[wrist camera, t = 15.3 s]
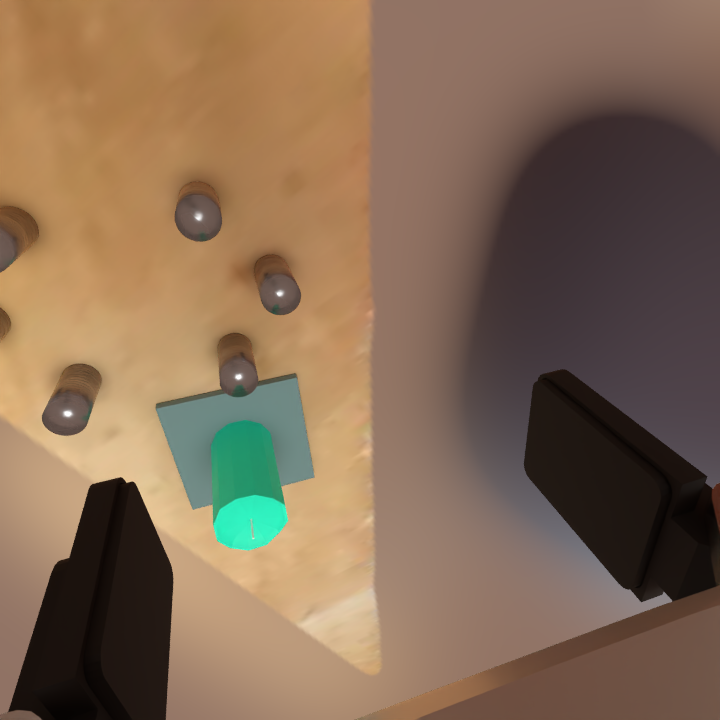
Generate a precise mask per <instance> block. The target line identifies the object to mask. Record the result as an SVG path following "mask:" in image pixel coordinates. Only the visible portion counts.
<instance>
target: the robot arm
mask: <svg viewBox="0 0 720 720" xmlns="http://www.w3.org/2000/svg"><path fill="white" fill-rule="evenodd" d="M524 468H525V471H526V474H527V476H528V477H529V479H530V480H531V481H532V482H533V483H534V484H535V486H536V487H537V488H538V489H539V490H540V491H541V493H542V494H543V495H544V496H545V497H546V498H547V500H548V501H549V502H550V503H551V504H552V506H553V507H554V508H555V509H556V510H557V511H558V513H559V514H560V515H561V516H562V517H563V518H564V520H565V521H566V522H567V523H568V524H569V525H570V527H571V528H572V529H573V530H574V531H575V532H576V534H577V535H578V536H579V537H580V538H581V540H583V542H584V543H585V544H586V546H587V547H588V548H589V549H590V550H591V551H592V552H593V554H594V555H595V556H596V557H597V558H598V559H599V561H600V562H601V563H602V564H603V565H604V567H605V568H606V569H607V570H608V571H609V573H610V574H611V575H612V576H613V577H614V578H615V580H616V581H617V582H618V583H619V584H620V585H621V586H622V587H623V588H625V589H630V590H631V591H632V592H633V593H634V594H635V595H636V597H637V598H638V599H639V600H640V601H641V602H643V601H646V600H649V599H651V598H654V597H657V596H660V595H662V594H663V592H665V593H666V594H667V595H668V596H669V597H670V598H671V599H672V602H671V603H667V604H664V605H662V606H659V607H656V608H653V609H651V610H648V611H645V612H642V613H640V614H637V615H634V616H632V617H629V618H626V619H623V620H621V621H618V622H615V623H612V624H610V625H607V626H604V627H602V628H599V629H596V630H593V631H591V632H588V633H585V634H583V635H580V636H577V637H574V638H572V639H569V640H566V641H563V642H561V643H558V644H555V645H553V646H550V647H547V648H545V649H542V650H539V651H536V652H534V653H531V654H528V655H526V656H523V657H520V658H518V659H515V660H512V661H510V662H507V663H505V664H502V665H499V666H496V667H494V668H491V669H488V670H486V671H483V672H480V673H478V674H475V675H472V676H470V677H467V678H464V679H462V680H459V681H456V682H454V683H451V684H448V685H446V686H443V687H441V688H438V689H435V690H433V691H430V692H427V693H425V694H422V695H419V696H417V697H414V698H411V699H409V700H406V701H403V702H400V703H398V704H395V705H393V706H390V707H388V708H385V709H382V710H379V711H377V712H374V713H372V714H369V715H367V716H364V717H361V718H358V719H356V720H720V483H718V484H716V485H715V487H714V488H713V489H712V488H711V487H710V486H708V485H707V484H706V483H705V482H706V479H707V476H706V475H705V474H703V473H702V472H701V471H699V470H698V469H696V468H695V467H694V466H693V465H691V464H690V463H689V462H687V461H686V460H685V459H683V458H682V457H681V456H679V455H678V454H677V453H676V452H674V451H673V450H672V449H670V448H669V447H668V446H666V445H665V444H664V443H662V442H661V441H660V440H658V439H657V438H655V437H654V436H653V435H652V434H650V433H649V432H648V431H647V430H645V429H644V428H643V427H641V426H640V425H639V424H637V423H636V422H635V421H633V420H632V419H631V418H629V417H628V416H627V415H625V414H624V413H623V412H622V411H620V410H619V409H618V408H616V407H615V406H614V405H612V404H611V403H610V402H608V401H607V400H605V399H604V398H603V397H602V396H600V395H599V394H598V393H596V392H595V391H594V390H593V389H591V388H590V387H589V386H587V385H586V384H585V383H583V382H582V381H580V380H579V379H578V378H577V377H575V376H574V375H573V374H571V373H570V372H569V371H567V370H563V369H562V370H557V371H553V372H549V373H545V374H542V375H540V377H539V378H538V381H537V382H535V383H534V385H533V391H532V400H531V408H530V417H529V426H528V433H527V442H526V451H525V459H524ZM172 595H173V572H172V567H171V564H170V561H169V559H168V557H167V554H166V552H165V550H164V548H163V545H162V543H161V541H160V538H159V536H158V534H157V531H156V529H155V527H154V525H153V522H152V520H151V518H150V515H149V513H148V511H147V509H146V506H145V504H144V502H143V499H142V497H141V495H140V492H139V490H138V488H137V486H136V484H135V483H134V482H129V483H126V482H125V480H124V479H123V478H121V477H120V478H115V479H111V480H107V481H103V482H99V483H95V484H92V485H91V486H90V488H89V490H88V494H87V497H86V501H85V504H84V508H83V511H82V515H81V519H80V522H79V526H78V530H77V533H76V536H75V540H74V543H73V547H72V550H71V554H70V558H68V559H64V560H61V561H59V562H57V564H56V565H55V566H54V568H53V571H52V573H51V576H50V579H49V583H48V586H47V589H46V592H45V596H44V599H43V602H42V605H41V608H40V612H39V615H38V618H37V621H36V624H35V628H34V631H33V634H32V637H31V640H30V644H29V647H28V650H27V653H26V657H25V660H24V663H23V666H22V669H21V673H20V676H19V679H18V682H17V686H16V689H15V692H14V695H13V698H12V702H11V705H10V708H9V711H8V712H7V713H3V714H1V715H0V720H166V704H167V683H168V668H169V650H170V632H171V613H172Z"/></svg>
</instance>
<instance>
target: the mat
mask: <svg viewBox="0 0 720 720" xmlns="http://www.w3.org/2000/svg"><path fill="white" fill-rule="evenodd" d="M156 411H157V414H158V416H159V419H160V422H161V425H162V427H163V430H164V433H165V436H166V438H167V441H168V444H169V446H170V449H171V452H172V455H173V457H174V460H175V463H176V465H177V468H178V471H179V474H180V476H181V479H182V482H183V485H184V487H185V490H186V493H187V495H188V498H189V501H190V504H191V506H192V509H197V508H201V507H205V506H208V505H212V504H213V498H212V463H211V444H212V442H213V439H214V437H215V435H216V433H217V432H218V431H219V430H221V429H222V428H223V427H225V426H226V425H227V424H229V423H233V422H238V421H242V420H248V421H252V422H257V423H260V424H262V425H263V426H264V427H265V428H266V429H267V430H268V431H269V432H270V434H271V439H272V444H273V449H274V454H275V458H276V463H277V468H278V473H279V478H280V483H281V486H284V485H288V484H291V483H295V482H299V481H303V480H307V479H310V478H314V472H313V466H312V460H311V455H310V449H309V444H308V438H307V432H306V427H305V421H304V415H303V410H302V404H301V398H300V393H299V387H298V381H297V377H296V374H291V375H287V376H282V377H278V378H273V379H268V380H264V381H259V382H258V385H257V387H256V389H255V390H254V391H253V392H252V393H251V394H249V395H247V396H244V397H232V396H229V395H227V394H226V393H225V392H224V391H223V390H218V391H214V392H209V393H204V394H200V395H195V396H191V397H186V398H182V399H177V400H172V401H168V402H163V403H159V404H156Z"/></svg>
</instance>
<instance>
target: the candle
mask: <svg viewBox="0 0 720 720" xmlns="http://www.w3.org/2000/svg"><path fill="white" fill-rule="evenodd" d="M211 463H212V498H213V526H214V530H215V534H216V538H217V541H218V542H220V543H222V544H224V545H225V546H227V547H229V548H233V549H241V550H251V549H255V548H258V547H261V546H264V545H267V544H268V543H269V542H270V541H271V540H272V539H273V538H274V537H275V536H276V535H277V534H278V533H279V532H280V531H281V530H282V528H283V527H284V526H285V524H286V523H287V522H288V518H287V513H286V508H285V503H284V498H283V493H282V488H281V483H280V478H279V473H278V468H277V463H276V458H275V454H274V449H273V444H272V439H271V434H270V432H269V431H268V430H267V429H266V428H265V427H264V426H263V425H262V424H260V423H257V422H252V421H248V420H242V421H238V422H233V423H229V424H227V425H226V426H225V427H223V428H222V429H221V430H219V431H218V432H217V433H216V435H215V437H214V439H213V442H212V444H211Z"/></svg>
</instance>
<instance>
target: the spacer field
mask: <svg viewBox="0 0 720 720" xmlns="http://www.w3.org/2000/svg"><path fill="white" fill-rule="evenodd" d="M175 222H176V225H177V227H178V229H179V231H180V232H181V233H182V234H183V235H184V236H185V237H187V238H189V239H191V240H194V241H207V240H210V239H212V238H213V237H215V236H216V235H217V234H218V232H219V231H220V228H221V225H222V217H221V211H220V205H219V199H218V196H217V194H216V192H215V191H214V189H213V188H212V187H210V186H209V185H207V184H205V183H203V182H191V183H188V184H186V185H185V186H184V187H183V188H182V189H181V191H180V193H179V197H178V201H177V206H176V211H175ZM38 233H39V232H38V226H37V224H36V222H35V220H34V219H33V218H32V217H31V216H30V215H29V214H28V213H26V212H25V211H23V210H21V209H19V208H15V207H2V208H0V272H2V271H4V270H5V269H6V268H7V267H9V266H10V265H11V264H12V263H13V262H14V261H15V260H16V259H17V258H18V257H20V256H21V255H22V254H23V253H24V252H25V251H26V250H27V249H28V248H29V247H31V246H32V245H33V244H34V243H35V242H36V240H37V238H38ZM254 277H255V280H256V284H257V287H258V290H259V294H260V297H261V301H262V304H263V306H264V307H265V308H266V310H268V311H269V312H271V313H273V314H276V315H285V314H288V313H290V312H292V311H293V310H295V309H296V307H297V306H298V305H299V303H300V299H301V292H300V289H299V287H298V285H297V283H296V281H295V279H294V277H293V275H292V273H291V271H290V269H289V267H288V265H287V263H286V262H285V261H284V259H282V258H281V257H279V256H276V255H266V256H263V257H262V258H260V259H259V260H258V261H257V262H256V264H255V267H254ZM10 326H11V322H10V319H9V317H8V315H7V314H6V313H5V312H4V311H3V310H2V309H1V308H0V341H1V340H2V339H3V338H4V336H5V335H6V334H7V333H8V331H9V330H10ZM218 361H219V376H220V386H221V388H222V390H223V391H224V392H225V393H226V394H227V395H229V396H232V397H244V396H247V395H249V394H251V393H252V392H253V391H254V390H255V389H256V387H257V385H258V376H257V371H256V366H255V361H254V356H253V351H252V346H251V343H250V341H249V339H248V338H247V337H245V336H244V335H242V334H237V333H233V334H228V335H226V336H224V337H223V338H222V339H221V340H220V342H219V344H218ZM100 385H101V376H100V374H99V372H98V371H97V370H96V369H94V368H93V367H91V366H89V365H85V364H75V365H71V366H69V367H68V368H66V369H65V370H64V372H63V373H62V376H61V378H60V380H59V382H58V384H57V386H56V388H55V390H54V392H53V394H52V396H51V398H50V400H49V402H48V404H47V406H46V408H45V410H44V412H43V415H42V421H43V424H44V426H45V427H46V428H47V429H48V430H49V431H51V432H53V433H55V434H58V435H64V436H68V435H74V434H77V433H79V432H81V431H82V430H83V429H84V428H85V427H86V425H87V423H88V420H89V417H90V414H91V411H92V408H93V405H94V402H95V399H96V397H97V394H98V391H99V388H100Z"/></svg>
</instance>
